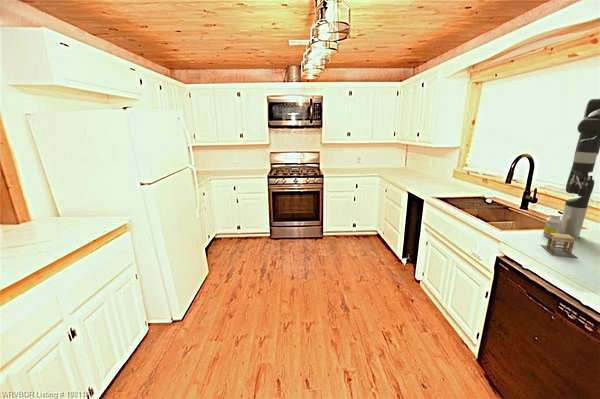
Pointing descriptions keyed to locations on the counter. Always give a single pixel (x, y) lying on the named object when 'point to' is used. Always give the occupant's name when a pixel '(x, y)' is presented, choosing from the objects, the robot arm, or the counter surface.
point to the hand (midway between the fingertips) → (575, 194)
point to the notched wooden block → (560, 237)
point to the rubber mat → (559, 252)
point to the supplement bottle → (552, 224)
